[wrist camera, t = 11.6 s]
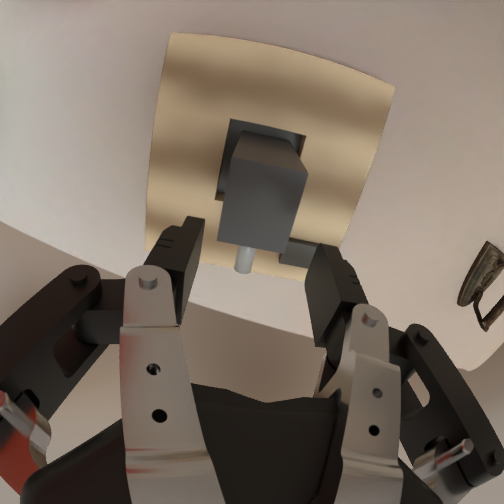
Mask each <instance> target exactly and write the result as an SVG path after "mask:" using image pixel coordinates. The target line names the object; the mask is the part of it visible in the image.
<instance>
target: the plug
mask: <svg viewBox="0 0 504 504" xmlns="http://www.w3.org/2000/svg"><path fill="white" fill-rule="evenodd" d="M308 175H309V174H308V172H307V170H306V168H305V166H304V165H303V163H302V161H301V159H300V158H299V156H298V154H297V152H296V151H295V149H294V147H293V146H292V144H291V142H290V141H289V140H285V139H281V138H277V137H272V136H268V135H263V134H259V133H254V132H249V131H244V130H243V131H242V133H241V136H240V138H239V141H238V143H237V145H236V148H235V150H234V153H233V155H232V159H231V164H230V169H229V174H228V179H227V185H226V190H225V195H224V201H223V206H222V212H221V218H220V223H219V229H218V235H217V241H219V242H224V243H230V244H235V245H239V246H238V251H237V256H236V260H235V265H234V269H235V270H236V271H237V272H239V273H242V274H247V273H250V272H251V269H252V265H253V261H254V257H255V253H256V249H261V250H266V251H271V252H276V253H282V254H284V252H285V249H286V246H287V243H288V240H289V237H290V234H291V230H292V227H293V224H294V221H295V218H296V214H297V211H298V208H299V205H300V201H301V198H302V195H303V191H304V188H305V185H306V181H307V178H308Z"/></svg>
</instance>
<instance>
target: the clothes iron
mask: <svg viewBox="0 0 504 504" xmlns="http://www.w3.org/2000/svg"><path fill="white" fill-rule="evenodd" d="M503 269H504V253H503V252H501V251H500V250H499V249H497V248H496V247H495V246H493V245H492V244H491V243H490V242H488V241H486V243H485V244H484V246H483V247H482V249H481V251H480V252H479V254H478V256H477V257H476V259H475V261H474V263H473V264H472V266H471V268H470V270H469V272H468V274H467V276H466V278H465V280H464V282H463V285H462V287H461V290H460V292H459V296H458V300H457V304H458V305H459V306H461V307H463V306H467V305H469V304H470V303H471V302H473V301H474V300H475V301H474V303H473V307H474V311H475V313H476V316H477V319H478V322H479V324H480V326H481V328H482V329H483V330H484V331H485V332H487V331H488V329H489V327H490V326H491V324H492V323H493V322H494V321H495V320H496V319H497V318H498V317H499V316H500V315H501V313H502V312H503V311H504V295H503V297H502V298H501V299H500V300H499V301H498V302H497V304H496V305H495V306H494V307H493V308H492V309H491V311H490V312H489V313H488V314H487V315H486V316H485V317H484V318H483V319H482V317H481V314H480V311H479V308H478V304H479V302H480V300H481V298H482V296H483V292H484V291H485V290H486V289H487V288H488V287H489V286H490V285H491V284H492V283H493V281H494V280H495V279H496V278H497V277H498V275H499V274H500V273H501V271H502V270H503Z"/></svg>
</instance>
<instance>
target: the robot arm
mask: <svg viewBox="0 0 504 504" xmlns="http://www.w3.org/2000/svg"><path fill="white" fill-rule="evenodd" d="M204 227H205V219H203V218H198V217H193V216H187V217H186V219H185V220H184V222H183V224H182V226H181V227H180V226H175V225H171V226H169V227H168V228H166V229H165V230H163V231H162V233H161V235H160V237H159V239H158V240H157V242H156V243H155V245H154V247H153V248H152V250H151V252H150V254H149V255H148V257H147V259H146V261H145V262H144V264H143V265H142V266H138V267H135V268H133V269H132V270H130V271H129V272H128V274H127V275H126V278H124V279H109V280H108V279H107V280H106V279H101V278H100V274H99V272H98V270H97V269H95V268H94V267H92V266H89V265H75V266H72V267H69V268H68V269H66V270H65V271H63V272H62V273H61V274H59V275H58V276H57V277H56V278H54V279H53V280H52V281H51V282H50V283H48V284H47V285H46V286H45V287H43V288H42V289H41V290H40V291H39V292H37V293H36V294H35V295H34V296H33V297H32V298H30V299H29V300H28V301H27V302H26V303H25V304H23V305H22V306H21V307H20V308H19V309H18V310H17V311H16V312H15V313H13V314H12V315H11V316H10V317H9V318H8V319H7V320H6V321H5V322H4V323H3V324H2V325H1V326H0V476H1V477H2V478H3V479H4V480H5V481H6V482H7V483H8V484H9V485H10V486H11V487H12V488H13V489H14V490H15V491H16V492H17V493H18V494H19V495H20V504H457V503H458V502H459V501H460V500H461V499H462V498H463V497H464V496H465V495H466V494H467V493H468V492H469V491H470V490H471V489H473V488H475V487H477V486H479V485H481V484H483V483H485V482H487V481H489V480H491V479H493V478H495V477H496V476H498V475H500V474H501V473H502V471H503V470H504V448H503V446H502V444H501V442H500V441H499V439H498V437H497V435H496V433H495V431H494V429H493V427H492V426H491V424H490V422H489V420H488V418H487V417H486V415H485V413H484V411H483V410H482V408H481V406H480V405H479V403H478V401H477V400H476V398H475V396H474V395H473V393H472V391H471V390H470V388H469V387H468V385H467V383H466V382H465V380H464V379H463V377H462V376H461V374H460V373H459V371H458V370H457V368H456V367H455V365H454V364H453V362H452V361H451V359H450V358H449V356H448V355H447V353H446V352H445V351H444V349H443V348H442V346H441V345H440V344H439V342H438V341H437V339H436V338H435V337H434V335H433V334H432V333H431V332H430V331H429V330H428V329H427V328H426V327H424V326H422V325H420V324H411V325H409V327H408V328H407V329H406V331H405V332H402V331H400V330H397V329H394V328H392V327H389V326H388V321H387V319H386V317H385V315H384V314H383V313H382V312H381V311H380V310H379V309H377V308H376V307H374V306H372V305H369V303H368V301H367V298H366V296H365V293H364V291H363V289H362V286H361V285H360V282H359V279H358V278H357V275H356V272H355V270H354V268H353V267H352V266H351V265H350V264H349V263H348V262H347V260H343V258H342V256H341V253H340V251H339V249H338V247H337V246H333V245H328V244H323V243H319V244H318V246H317V248H316V251H315V253H314V256H313V258H312V261H311V263H310V266H309V268H308V271H307V274H306V277H305V291H306V296H307V302H308V307H309V313H310V319H311V324H312V330H313V336H314V342H315V347H324V348H326V351H327V352H326V354H325V355H324V357H323V358H322V361H321V366H320V370H319V374H318V378H317V382H316V386H315V390H314V394H313V397H312V398H310V397H302V398H295V399H290V400H284V401H277V402H270V403H264V402H261V401H258V400H255V399H252V398H248V397H246V396H243V395H241V394H237V393H235V392H232V391H230V390H227V389H221V388H215V387H209V386H204V385H198V384H193V383H191V382H190V378H189V373H188V367H187V363H186V357H185V352H184V346H183V340H182V334H181V329H180V326H179V325H181V323H182V319H183V315H184V312H185V308H186V305H187V301H188V298H189V295H190V291H191V288H192V284H193V281H194V278H195V274H196V271H197V268H198V264H199V260H200V254H201V248H202V241H203V234H204ZM177 324H179V325H178V326H177ZM109 344H120V392H121V393H120V394H121V410H122V418H121V419H120V420H118V421H117V422H115V423H114V424H112V425H111V426H109V427H108V428H106V429H104V430H103V431H101V432H100V433H98V434H97V435H95V436H94V437H92V438H90V439H89V440H87V441H86V442H84V443H83V444H81V445H79V446H78V447H76V448H74V449H73V450H71V451H70V452H68V453H66V454H65V455H63V456H61V457H59V458H58V459H56V460H54V461H53V462H51V463H49V464H47V462H46V450H47V447H48V445H49V443H50V440H51V427H50V424H49V422H48V420H49V419H50V418H51V417H52V415H53V414H54V413H55V411H56V410H57V409H58V407H59V406H60V405H61V403H62V402H63V401H64V400H65V398H66V397H67V396H68V394H69V393H70V392H71V391H72V389H73V388H74V387H75V386H76V384H77V383H78V382H79V381H80V380H81V378H82V377H83V376H84V375H85V373H86V372H87V371H88V370H89V368H90V367H91V366H92V365H93V363H94V362H95V361H96V360H97V359H98V357H99V356H100V355H101V354H102V353H103V352H104V350H105V349H106V348H107V347H108V345H109ZM415 372H417V373H418V375H419V376H420V378H421V380H422V382H423V383H424V385H425V386H426V388H427V390H428V391H429V394H430V400H429V403H428V404H427V405H426V406H425V407H423V406H422V405H421V403H420V401H419V399H418V398H417V396H416V394H415V392H414V391H413V389H412V387H411V386H410V384H409V382H408V381H407V380H408V379H409V378H410V377H411V376H412V375H413V374H414V373H415ZM399 439H400V441H401V443H402V445H403V447H404V449H405V451H406V453H407V455H408V458H409V460H410V462H411V464H412V466H413V469H412V470H411V469H410V468H409V467H408V466H407V465H406V464H405V463H404V462H403V461H402V460H401V459H400V458H399V457H398V449H399Z"/></svg>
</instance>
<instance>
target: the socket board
mask: <svg viewBox="0 0 504 504" xmlns="http://www.w3.org/2000/svg"><path fill="white" fill-rule="evenodd" d="M394 91H395V87H394V86H392V85H390V84H388V83H385V82H383V81H381V80H379V79H376V78H374V77H372V76H369V75H367V74H364V73H362V72H359V71H357V70H354V69H351V68H349V67H346V66H343V65H340V64H338V63H335V62H332V61H329V60H325V59H322V58H319V57H316V56H312V55H309V54H306V53H302V52H298V51H294V50H290V49H286V48H282V47H278V46H274V45H269V44H264V43H259V42H254V41H248V40H242V39H236V38H229V37H221V36H213V35H203V34H190V33H171V34H170V38H169V42H168V47H167V51H166V56H165V60H164V65H163V70H162V76H161V81H160V87H159V92H158V98H157V105H156V111H155V119H154V126H153V134H152V143H151V152H150V162H149V174H148V187H147V205H146V233H145V250H146V251H151V250H152V248H153V247H154V245H155V243H156V242H157V240H158V239H159V237H160V235H161V233H162V231H163V230H165V229H166V228H168V227H169V226H171V225H175V226H180V227H181V226H182V224H183V222H184V220H185V219H186V217H187V216H193V217H198V218H203V219H205V227H204V234H203V241H202V248H201V254H200V260H199V261H200V262H205V263H210V264H215V265H220V266H225V267H231V268H234V265H235V260H236V256H237V251H238V246H239V245H235V244H230V243H224V242H219V241H217V235H218V229H219V223H220V218H221V212H222V206H223V201H224V195H225V190H226V185H227V179H228V174H229V169H230V164H231V159H232V155H233V153H234V150H235V148H236V145H237V143H238V141H239V138H240V136H241V133H242V131H243V130H244V131H249V132H254V133H259V134H263V135H268V136H272V137H277V138H281V139H285V140H289V141H290V142H291V144H292V146H293V147H294V149H295V151H296V152H297V154H298V156H299V158H300V159H301V161H302V163H303V165H304V166H305V168H306V170H307V172H308V174H309V175H308V178H307V181H306V185H305V188H304V191H303V195H302V198H301V201H300V205H299V208H298V211H297V214H296V218H295V221H294V224H293V227H292V230H291V234H290V237H289V240H288V243H287V246H286V249H285V252H284V254H282V253H276V252H271V251H266V250H261V249H256V253H255V257H254V261H253V265H252V269H251V272H257V273H262V274H267V275H273V276H278V277H284V278H289V279H295V280H300V281H305V277H306V274H307V271H308V268H309V266H310V263H311V261H312V258H313V256H314V253H315V251H316V248H317V246H318V244H319V243H323V244H328V245H333V246H337V247H338V249H339V248H340V246H341V243H342V241H343V238H344V236H345V234H346V231H347V229H348V226H349V224H350V221H351V219H352V216H353V214H354V211H355V209H356V206H357V203H358V201H359V198H360V195H361V193H362V190H363V187H364V185H365V182H366V179H367V176H368V174H369V171H370V168H371V165H372V162H373V159H374V156H375V153H376V150H377V147H378V144H379V141H380V138H381V135H382V132H383V129H384V125H385V122H386V119H387V115H388V112H389V109H390V105H391V102H392V98H393V95H394Z"/></svg>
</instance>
